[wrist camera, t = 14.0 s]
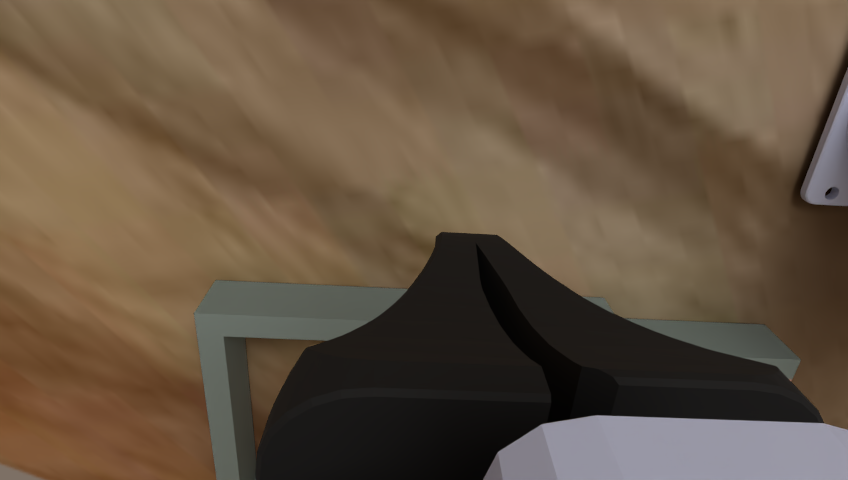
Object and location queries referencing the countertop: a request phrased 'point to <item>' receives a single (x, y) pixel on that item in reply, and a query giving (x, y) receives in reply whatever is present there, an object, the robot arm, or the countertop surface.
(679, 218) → the countertop surface
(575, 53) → the countertop surface
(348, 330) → the corral
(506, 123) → the countertop surface
